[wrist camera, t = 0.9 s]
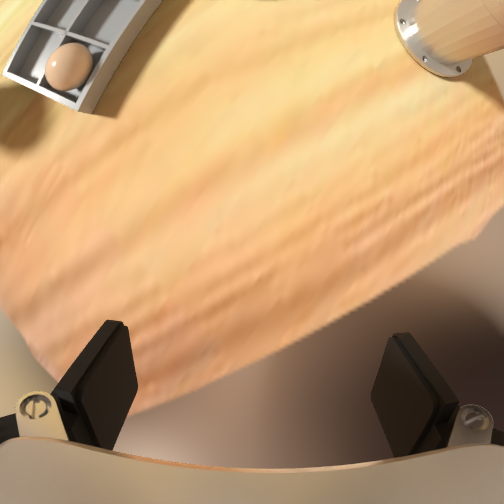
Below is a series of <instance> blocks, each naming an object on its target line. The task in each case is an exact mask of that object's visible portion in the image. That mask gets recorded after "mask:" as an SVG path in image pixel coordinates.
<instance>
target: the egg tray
mask: <svg viewBox="0 0 504 504" xmlns="http://www.w3.org/2000/svg"><path fill="white" fill-rule="evenodd" d="M162 1H163V0H43V2H42V3H41V5H40V6H39V8H38V10H37V11H36V13H35V14H34V16H33V18H32V19H31V21H30V22H29V24H28V26H27V28H26V29H25V31H24V33H23V34H22V36H21V38H20V40H19V42H18V44H17V45H16V47H15V49H14V51H13V53H12V55H11V57H10V59H9V61H8V63H7V65H6V67H5V69H4V72H3V74H2V76H5V77H7V78H9V79H11V80H13V81H16V82H18V83H20V84H22V85H24V86H26V87H28V88H31V89H33V90H35V91H37V92H39V93H41V94H43V95H45V96H47V97H49V98H51V99H53V100H56V101H58V102H60V103H62V104H64V105H66V106H68V107H70V108H72V109H74V110H76V111H78V112H83V113H88V114H92V113H93V111H94V109H95V107H96V105H97V103H98V101H99V99H100V97H101V96H102V94H103V92H104V90H105V88H106V86H107V85H108V83H109V81H110V79H111V77H112V76H113V74H114V72H115V71H116V69H117V67H118V66H119V64H120V62H121V61H122V59H123V57H124V56H125V54H126V53H127V51H128V49H129V48H130V46H131V45H132V43H133V42H134V40H135V39H136V37H137V36H138V34H139V33H140V31H141V30H142V28H143V27H144V26H145V24H146V23H147V21H148V20H149V19H150V17H151V16H152V14H153V13H154V12H155V10H156V9H157V8H158V6H159V5H160V4H161V2H162ZM67 43H80V44H82V45H84V46H86V47H87V48H88V49H89V50H90V52H91V53H92V56H93V61H94V64H93V70H92V72H91V75H90V76H89V78H88V79H87V81H86V82H85V83H84V84H83V85H81V86H80V87H78V88H76V89H74V90H70V91H60V90H57V89H55V88H53V87H52V86H51V85H50V84H49V83H48V81H47V79H46V76H45V66H46V63H47V60H48V58H49V57H50V55H51V54H52V53H53V52H54V51H55V50H56V49H57V48H58V47H60V46H62V45H64V44H67Z"/></svg>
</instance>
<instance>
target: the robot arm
mask: <svg viewBox="0 0 504 504" xmlns="http://www.w3.org/2000/svg"><path fill="white" fill-rule="evenodd" d="M394 22H395V28H396V31H397V34H398V37H399V39H400V41H401V43H402V44H403V46H404V47H405V49H406V50H407V52H408V53H409V54H410V55H411V56H412V58H413V59H414V60H415V61H416V62H417V63H419V64H420V65H421V66H422V67H424V68H425V69H426V70H428V71H430V72H432V73H434V74H436V75H439V76H442V77H456V76H459V75H462V74H464V73H465V72H467V71H468V69H469V68H470V67H471V64H472V62H473V58H475V57H478V56H482V55H485V54H488V53H491V52H494V51H497V50H501V49H504V0H402V1H401V2H400V3H399V4H398V6H397V7H396V10H395V15H394ZM137 390H138V382H137V377H136V372H135V366H134V361H133V355H132V349H131V343H130V337H129V330H128V327H127V326H124V324H123V322H122V321H114V320H106V321H105V322H104V324H103V325H102V326H101V327H100V329H99V330H98V331H97V333H96V334H95V335H94V336H93V338H92V339H91V340H90V342H89V343H88V344H87V345H86V347H85V348H84V349H83V351H82V352H81V353H80V355H79V356H78V357H77V359H76V360H75V361H74V363H73V364H72V365H71V367H70V368H69V369H68V371H67V372H66V373H65V375H64V376H63V377H62V379H61V380H60V382H59V383H58V384H57V386H56V387H55V388H54V390H53V391H52V393H51V394H48V393H46V392H42V391H35V392H30V393H27V394H25V395H24V396H22V397H21V398H20V399H19V400H18V402H17V404H16V407H15V412H16V413H15V414H12V415H8V416H5V417H1V418H0V504H504V432H502V431H499V430H496V429H494V428H493V419H492V417H491V415H490V414H489V412H488V411H487V410H485V409H484V408H482V407H480V406H476V405H466V406H463V407H462V408H460V407H459V406H458V403H459V400H458V398H457V397H456V395H455V394H454V393H453V391H452V390H451V388H450V387H449V385H448V384H447V382H446V381H445V380H444V378H443V377H442V376H441V374H440V373H439V371H438V370H437V369H436V367H435V366H434V365H433V363H432V362H431V361H430V359H429V358H428V356H427V355H426V354H425V352H424V351H423V350H422V348H421V347H420V346H419V344H418V343H417V342H416V340H415V339H414V338H413V337H412V335H411V334H410V333H395V334H393V336H392V337H390V338H389V339H388V342H387V345H386V348H385V352H384V355H383V358H382V361H381V365H380V368H379V371H378V374H377V377H376V380H375V383H374V386H373V389H372V392H371V401H372V403H373V406H374V408H375V410H376V413H377V415H378V418H379V420H380V423H381V425H382V428H383V430H384V433H385V435H386V438H387V440H388V443H389V445H390V448H391V450H392V453H393V455H394V458H392V459H387V460H380V461H374V462H366V463H358V464H350V465H340V466H330V467H316V468H294V469H250V468H229V467H214V466H203V465H194V464H185V463H178V462H170V461H163V460H157V459H152V458H146V457H141V456H135V455H130V454H125V453H120V452H115V451H112V450H113V447H114V445H115V443H116V440H117V437H118V435H119V433H120V431H121V428H122V426H123V424H124V421H125V419H126V416H127V414H128V412H129V409H130V407H131V405H132V402H133V400H134V398H135V396H136V393H137Z"/></svg>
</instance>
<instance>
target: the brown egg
mask: <svg viewBox="0 0 504 504" xmlns="http://www.w3.org/2000/svg"><path fill="white" fill-rule="evenodd" d="M93 64H94V61H93V56H92V53H91V52H90V50H89V49H88V48H87V47H86V46H84V45H82V44H80V43H67V44H64V45H62V46H60V47H58V48H57V49H56V50H55V51H54V52H53V53H52V54H51V55H50V57H49V58H48V60H47V63H46V66H45V76H46V79H47V81H48V83H49V84H50V85H51V86H52V87H53V88H55V89H57V90H60V91H70V90H74V89H76V88H78V87H80V86H81V85H83V84H84V83H85V82H86V81H87V79H88V78H89V76H90V75H91V72H92V70H93Z"/></svg>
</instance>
